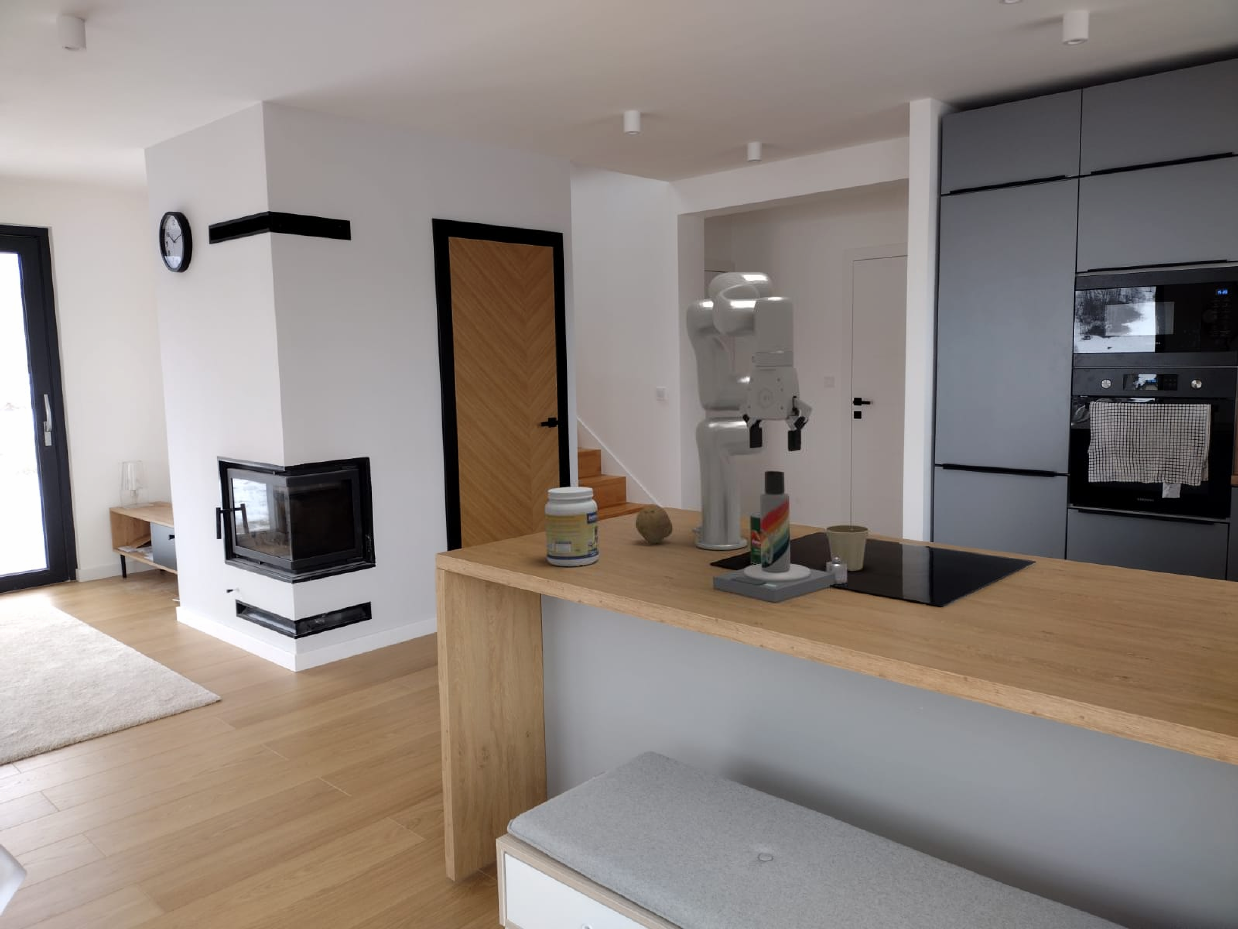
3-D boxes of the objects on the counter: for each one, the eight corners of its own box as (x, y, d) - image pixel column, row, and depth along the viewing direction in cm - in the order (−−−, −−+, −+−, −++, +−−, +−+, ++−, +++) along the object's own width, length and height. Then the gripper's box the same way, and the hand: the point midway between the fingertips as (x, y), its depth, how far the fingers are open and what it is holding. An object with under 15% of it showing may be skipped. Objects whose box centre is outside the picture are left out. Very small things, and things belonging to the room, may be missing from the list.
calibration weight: (822, 583, 177) (822, 557, 177) (834, 579, 180) (834, 554, 179) (838, 586, 174) (838, 560, 174) (851, 582, 177) (850, 557, 176)
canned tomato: (784, 558, 200) (784, 510, 199) (787, 566, 193) (787, 516, 192) (749, 559, 201) (748, 511, 200) (751, 566, 194) (750, 517, 192)
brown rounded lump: (631, 541, 226) (629, 503, 225) (663, 538, 229) (662, 500, 228) (642, 548, 218) (641, 508, 217) (676, 544, 220) (675, 505, 219)
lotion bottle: (757, 571, 175) (755, 471, 173) (766, 565, 180) (765, 468, 178) (785, 573, 172) (783, 472, 170) (793, 567, 177) (792, 468, 175)
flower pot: (859, 575, 183) (859, 534, 182) (817, 570, 188) (817, 530, 187) (876, 566, 190) (876, 526, 189) (835, 561, 196) (835, 523, 195)
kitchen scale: (713, 588, 176) (712, 572, 175) (772, 572, 187) (771, 558, 187) (775, 602, 164) (775, 586, 163) (834, 585, 175) (834, 569, 175)
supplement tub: (598, 567, 198) (595, 492, 196) (544, 568, 199) (541, 493, 197) (600, 555, 210) (597, 484, 209) (549, 556, 211) (546, 486, 209)
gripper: (727, 362, 175) (729, 448, 178) (797, 361, 162) (797, 453, 164) (753, 361, 180) (754, 445, 182) (822, 360, 167) (822, 450, 169)
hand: (774, 449), depth 173 cm, fingers open, 9 cm apart
